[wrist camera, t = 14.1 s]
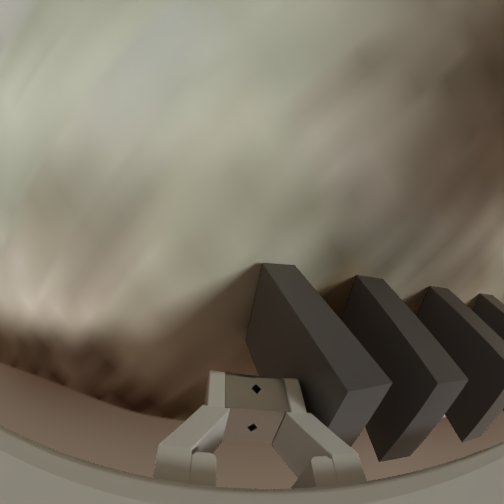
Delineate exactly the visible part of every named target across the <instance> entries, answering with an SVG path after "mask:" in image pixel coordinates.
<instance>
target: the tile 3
mask: <svg viewBox="0 0 504 504" xmlns="http://www.w3.org/2000/svg"><path fill="white" fill-rule="evenodd" d="M417 318H418V319H419V320H420V321H421V322H422V323H423V325H424V326H425V327H426V328H427V329H428V330H429V332H430V333H431V334H432V335H433V336H434V337H435V339H436V340H437V341H438V342H439V343H440V345H441V346H442V347H443V348H444V349H445V351H446V352H447V353H448V354H449V356H450V357H451V358H452V359H453V360H454V362H455V363H456V364H457V365H458V367H459V368H460V369H461V371H462V372H463V373H464V374H465V376H466V377H467V378H468V379H469V380H468V382H467V383H466V385H465V386H464V388H463V389H462V391H461V392H460V394H459V395H458V396H457V398H456V399H455V401H454V402H453V403H452V405H451V406H450V408H449V409H448V410H447V412H446V413H445V415H446V417H447V418H448V420H449V422H450V423H451V425H452V427H453V428H454V430H455V432H456V433H457V435H458V437H459V438H460V440H461V442H465V441H468V440H471V439H474V438H477V437H480V436H481V435H482V434H483V433H484V432H485V430H487V428H488V427H489V426H490V425H491V423H492V422H493V421H494V420H495V419H496V417H497V416H498V415H499V413H500V412H501V411H502V410H503V408H504V340H503V339H502V338H501V337H500V336H499V335H498V334H497V333H496V332H495V331H493V330H492V329H491V328H490V327H489V326H488V325H487V324H486V323H485V322H484V321H483V320H482V319H481V318H480V317H479V316H478V315H477V314H475V313H474V312H473V311H472V310H471V309H470V308H469V307H468V306H467V305H466V304H464V303H463V302H462V301H461V300H460V299H459V298H458V297H457V296H455V295H454V294H453V293H452V292H451V291H450V290H449V289H446V288H439V287H432V286H429V289H428V291H427V294H426V296H425V298H424V301H423V303H422V305H421V308H420V310H419V312H418V314H417Z"/></svg>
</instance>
